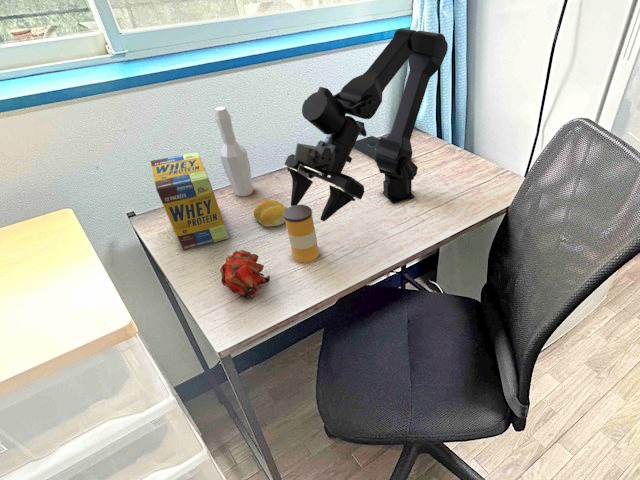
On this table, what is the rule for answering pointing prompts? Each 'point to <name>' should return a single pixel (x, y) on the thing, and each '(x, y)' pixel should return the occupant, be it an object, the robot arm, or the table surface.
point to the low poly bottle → (233, 156)
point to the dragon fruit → (243, 274)
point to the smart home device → (367, 146)
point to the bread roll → (270, 213)
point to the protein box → (189, 200)
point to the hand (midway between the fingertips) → (307, 213)
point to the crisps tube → (301, 233)
